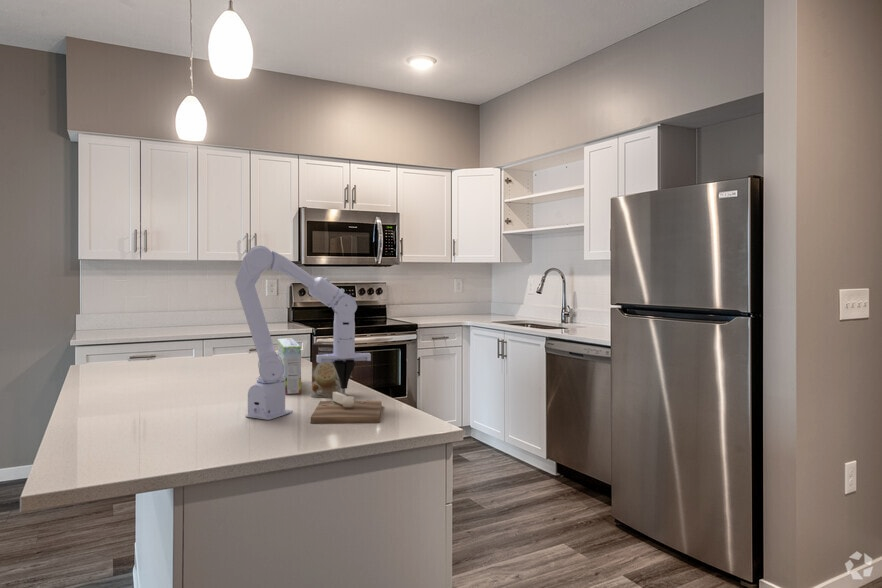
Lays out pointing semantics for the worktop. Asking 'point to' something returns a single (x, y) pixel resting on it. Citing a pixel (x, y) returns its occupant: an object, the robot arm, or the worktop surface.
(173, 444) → the worktop surface
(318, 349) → the coffee box
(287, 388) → the snack box
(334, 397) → the white bulb ended bar
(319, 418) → the board
